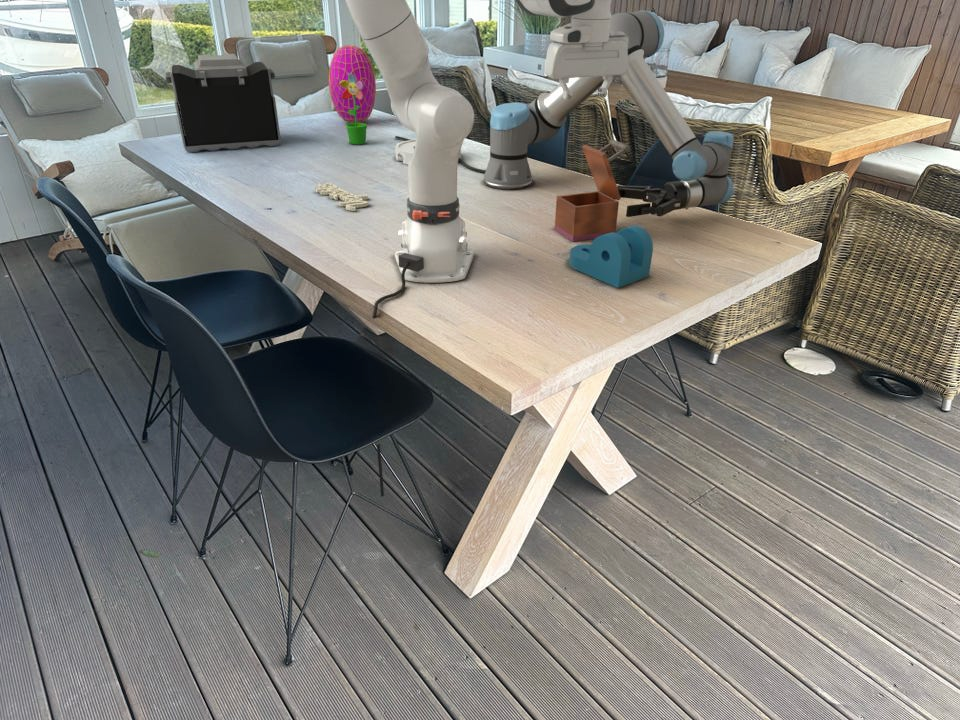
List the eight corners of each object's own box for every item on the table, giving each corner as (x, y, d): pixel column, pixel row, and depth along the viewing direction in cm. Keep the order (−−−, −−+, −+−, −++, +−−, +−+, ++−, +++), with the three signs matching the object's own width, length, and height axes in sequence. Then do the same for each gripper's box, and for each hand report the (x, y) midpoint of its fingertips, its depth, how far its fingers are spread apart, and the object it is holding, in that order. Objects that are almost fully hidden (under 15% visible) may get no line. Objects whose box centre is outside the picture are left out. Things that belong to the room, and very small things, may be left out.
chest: (572, 241, 174) (575, 207, 169) (554, 229, 182) (556, 196, 177) (615, 235, 178) (619, 201, 174) (595, 223, 186) (598, 190, 182)
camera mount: (649, 276, 155) (655, 231, 150) (618, 287, 149) (623, 242, 144) (590, 252, 167) (594, 210, 162) (559, 262, 161) (562, 219, 156)
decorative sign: (381, 201, 196) (350, 208, 191) (381, 205, 197) (350, 211, 192) (338, 180, 214) (308, 186, 209) (338, 183, 215) (308, 189, 209)
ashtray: (454, 167, 232) (454, 155, 230) (388, 164, 235) (387, 152, 233) (466, 151, 252) (466, 140, 250) (404, 148, 255) (404, 137, 253)
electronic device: (278, 133, 274) (267, 51, 259) (285, 146, 256) (274, 59, 241) (180, 140, 262) (162, 54, 247) (180, 153, 244) (161, 62, 229)
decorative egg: (362, 116, 305) (357, 42, 290) (386, 123, 292) (382, 46, 277) (324, 121, 294) (316, 45, 279) (347, 129, 281) (340, 49, 266)
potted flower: (342, 144, 260) (336, 73, 247) (351, 139, 266) (346, 70, 254) (365, 146, 257) (360, 74, 245) (374, 141, 264) (369, 71, 251)
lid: (602, 155, 165) (629, 137, 166) (581, 146, 173) (608, 129, 174) (617, 200, 173) (644, 183, 174) (597, 189, 181) (622, 173, 182)
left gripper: (621, 30, 161) (615, 92, 168) (543, 32, 154) (540, 97, 161) (636, 32, 156) (629, 96, 163) (557, 35, 149) (553, 102, 156)
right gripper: (707, 222, 178) (638, 232, 171) (651, 195, 198) (587, 203, 191) (712, 194, 174) (642, 203, 167) (655, 169, 194) (590, 176, 187)
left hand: (584, 97), depth 162 cm, fingers open, 8 cm apart
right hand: (612, 203), depth 179 cm, fingers open, 13 cm apart
